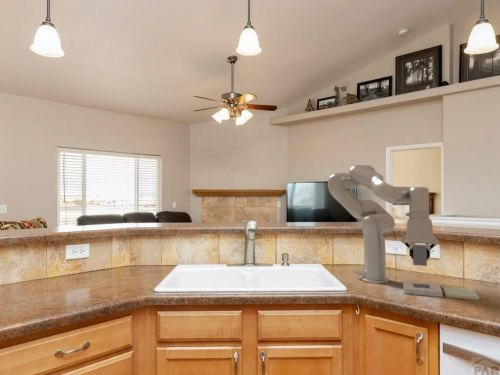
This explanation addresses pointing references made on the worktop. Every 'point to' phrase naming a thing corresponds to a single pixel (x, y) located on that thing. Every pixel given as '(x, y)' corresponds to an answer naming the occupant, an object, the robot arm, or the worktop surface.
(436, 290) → the socket plate
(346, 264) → the worktop surface
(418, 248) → the block
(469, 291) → the board
